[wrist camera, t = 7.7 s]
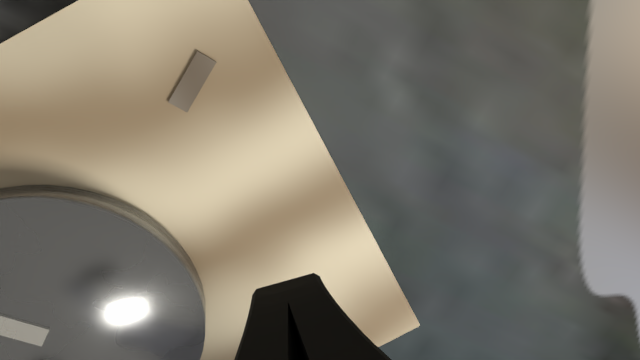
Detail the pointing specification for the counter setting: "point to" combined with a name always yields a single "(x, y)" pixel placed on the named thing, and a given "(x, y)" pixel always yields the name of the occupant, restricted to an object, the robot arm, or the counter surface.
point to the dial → (93, 280)
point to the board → (194, 151)
